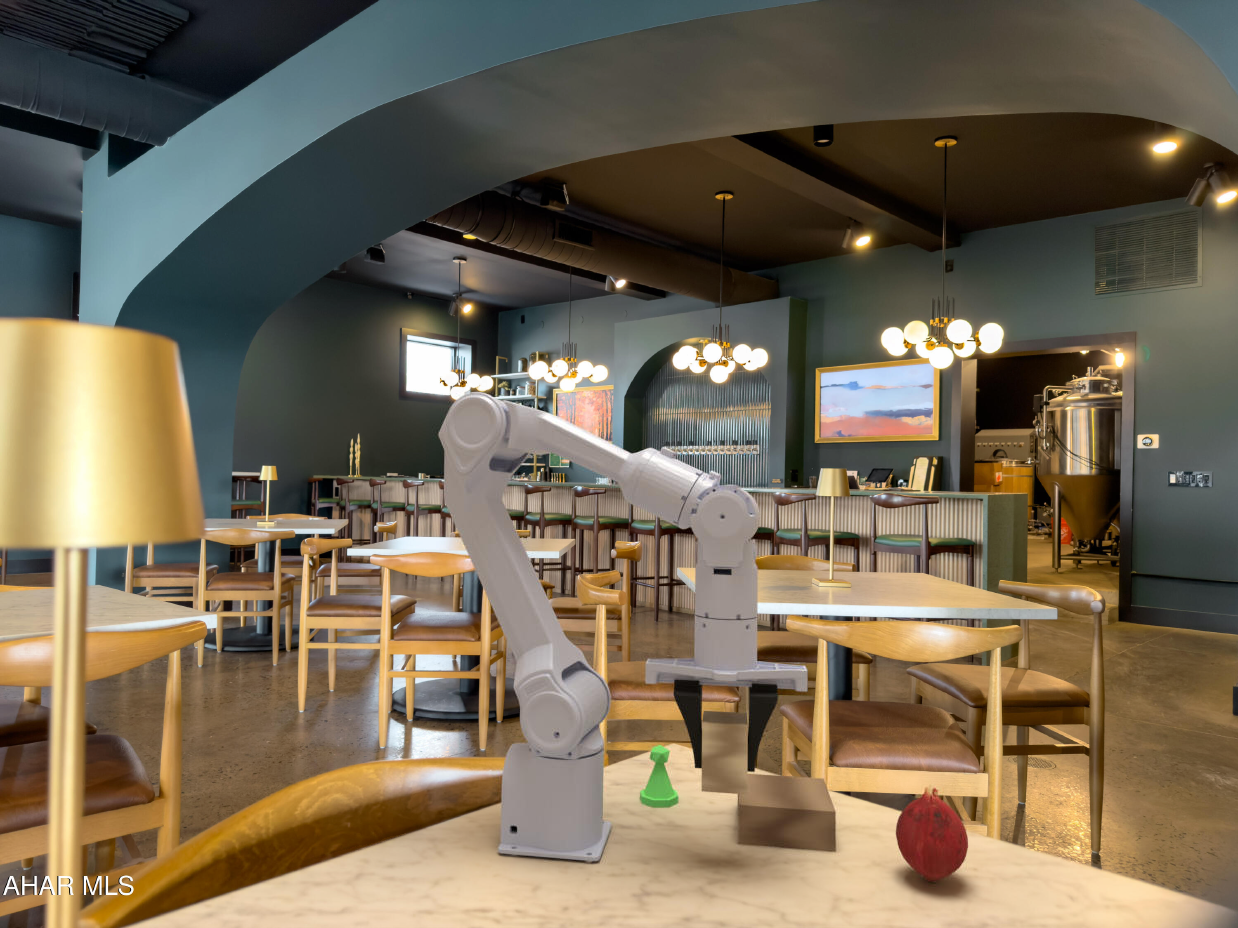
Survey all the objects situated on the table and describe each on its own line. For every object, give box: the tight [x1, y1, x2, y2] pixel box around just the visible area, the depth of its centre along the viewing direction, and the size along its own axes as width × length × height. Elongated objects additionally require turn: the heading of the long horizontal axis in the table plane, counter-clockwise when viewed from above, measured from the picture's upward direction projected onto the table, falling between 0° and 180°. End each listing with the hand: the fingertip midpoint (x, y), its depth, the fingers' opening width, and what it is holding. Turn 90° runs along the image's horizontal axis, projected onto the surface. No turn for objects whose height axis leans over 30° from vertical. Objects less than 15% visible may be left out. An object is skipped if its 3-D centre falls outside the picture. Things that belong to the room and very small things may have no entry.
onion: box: [895, 785, 969, 883], centre depth 66 cm, size 6×6×8 cm
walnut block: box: [737, 773, 837, 853], centre depth 77 cm, size 9×9×4 cm
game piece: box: [639, 744, 679, 809], centre depth 84 cm, size 4×4×6 cm
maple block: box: [701, 710, 749, 795], centre depth 69 cm, size 4×4×6 cm
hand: (724, 766), depth 69 cm, fingers closed on maple block, 4 cm apart
